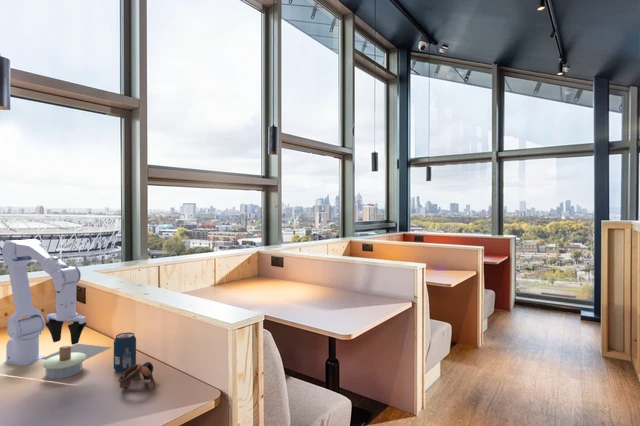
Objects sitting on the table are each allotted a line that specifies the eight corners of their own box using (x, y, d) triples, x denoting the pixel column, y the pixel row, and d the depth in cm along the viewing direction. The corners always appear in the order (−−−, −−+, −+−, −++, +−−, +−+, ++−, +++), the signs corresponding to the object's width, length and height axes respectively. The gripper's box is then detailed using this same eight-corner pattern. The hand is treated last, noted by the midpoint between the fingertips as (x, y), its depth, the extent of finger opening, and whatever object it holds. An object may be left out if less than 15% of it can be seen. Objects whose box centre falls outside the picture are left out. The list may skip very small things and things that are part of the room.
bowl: (38, 378, 124) (38, 366, 124) (65, 366, 134) (65, 354, 133) (63, 381, 122) (63, 369, 122) (88, 369, 131) (88, 357, 131)
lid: (33, 367, 123) (33, 352, 123) (64, 353, 135) (64, 340, 135) (65, 370, 121) (65, 355, 121) (94, 356, 133) (94, 342, 133)
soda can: (125, 364, 136) (125, 330, 136) (140, 367, 134) (140, 333, 134) (108, 371, 129) (109, 336, 129) (124, 375, 127) (124, 339, 127)
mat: (40, 360, 138) (40, 358, 138) (77, 344, 154) (77, 343, 154) (76, 364, 135) (77, 363, 135) (111, 348, 150) (111, 347, 150)
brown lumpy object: (149, 397, 114) (134, 376, 112) (124, 408, 115) (108, 387, 114) (166, 370, 125) (153, 350, 124) (143, 380, 127) (129, 361, 125)
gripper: (93, 301, 131) (93, 340, 132) (59, 298, 135) (59, 336, 135) (76, 306, 125) (75, 347, 125) (40, 303, 128) (40, 343, 128)
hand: (65, 342), depth 129 cm, fingers open, 7 cm apart
